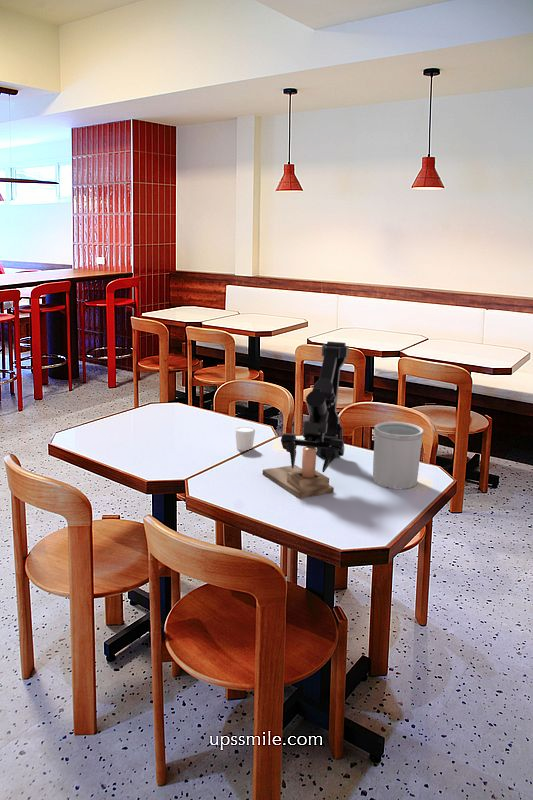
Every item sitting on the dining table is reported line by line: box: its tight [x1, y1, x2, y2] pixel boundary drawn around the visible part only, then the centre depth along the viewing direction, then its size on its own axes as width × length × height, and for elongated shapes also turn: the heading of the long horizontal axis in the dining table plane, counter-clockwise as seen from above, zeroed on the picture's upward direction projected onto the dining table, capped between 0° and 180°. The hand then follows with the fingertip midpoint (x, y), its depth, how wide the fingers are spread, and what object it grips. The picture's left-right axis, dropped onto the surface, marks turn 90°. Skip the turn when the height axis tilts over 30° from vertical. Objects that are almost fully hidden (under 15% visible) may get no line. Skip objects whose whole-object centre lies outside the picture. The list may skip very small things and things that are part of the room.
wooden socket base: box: [262, 465, 335, 499], centre depth 207 cm, size 12×22×4 cm, turn 29°
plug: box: [301, 446, 317, 479], centre depth 201 cm, size 4×4×11 cm
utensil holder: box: [372, 421, 425, 490], centre depth 210 cm, size 15×15×18 cm
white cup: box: [235, 426, 256, 452], centre depth 239 cm, size 7×7×7 cm
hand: (307, 469), depth 200 cm, fingers open, 9 cm apart
